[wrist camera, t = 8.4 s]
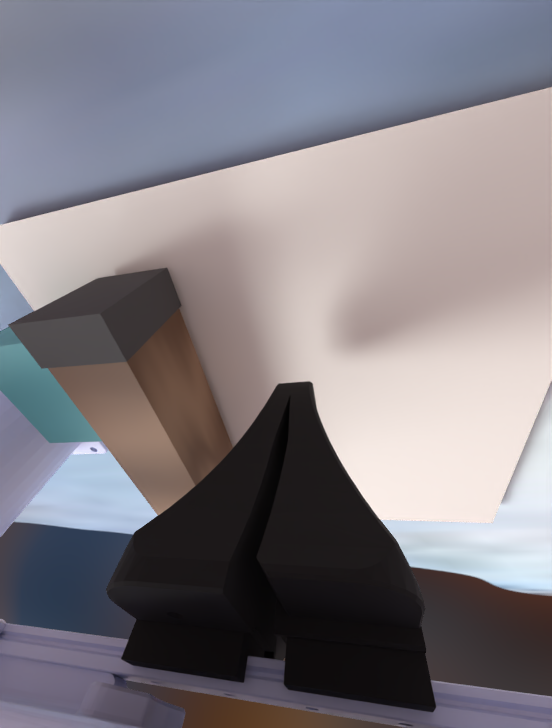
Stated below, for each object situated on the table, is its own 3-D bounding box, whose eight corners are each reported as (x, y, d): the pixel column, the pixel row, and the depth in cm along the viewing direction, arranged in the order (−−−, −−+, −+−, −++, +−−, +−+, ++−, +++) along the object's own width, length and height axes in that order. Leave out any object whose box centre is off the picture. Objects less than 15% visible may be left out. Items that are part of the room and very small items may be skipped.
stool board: (183, 499, 25) (155, 568, 21) (3, 225, 13) (-152, 256, 9) (484, 505, 20) (527, 597, 16) (642, 66, 8) (1007, -42, 4)
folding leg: (256, 501, 20) (240, 580, 17) (213, 500, 21) (189, 575, 17) (167, 267, 11) (88, 321, 7) (97, 277, 12) (-8, 333, 8)
